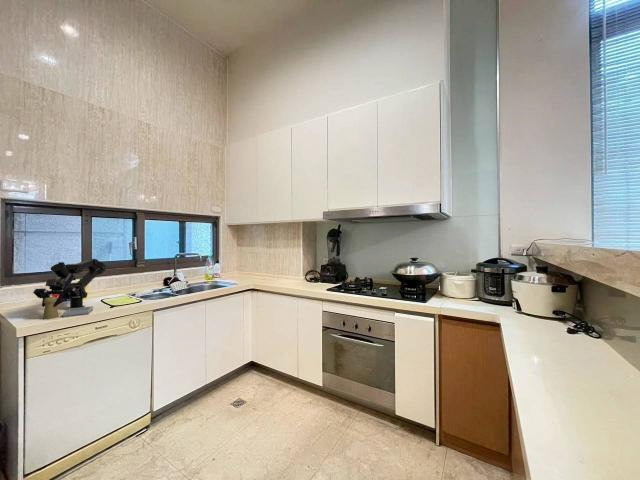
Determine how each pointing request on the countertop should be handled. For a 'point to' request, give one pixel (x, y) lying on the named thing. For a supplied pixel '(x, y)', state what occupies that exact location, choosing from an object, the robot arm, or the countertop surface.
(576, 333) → the countertop surface
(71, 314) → the grey tray
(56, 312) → the cork
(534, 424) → the countertop surface
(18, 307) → the countertop surface
